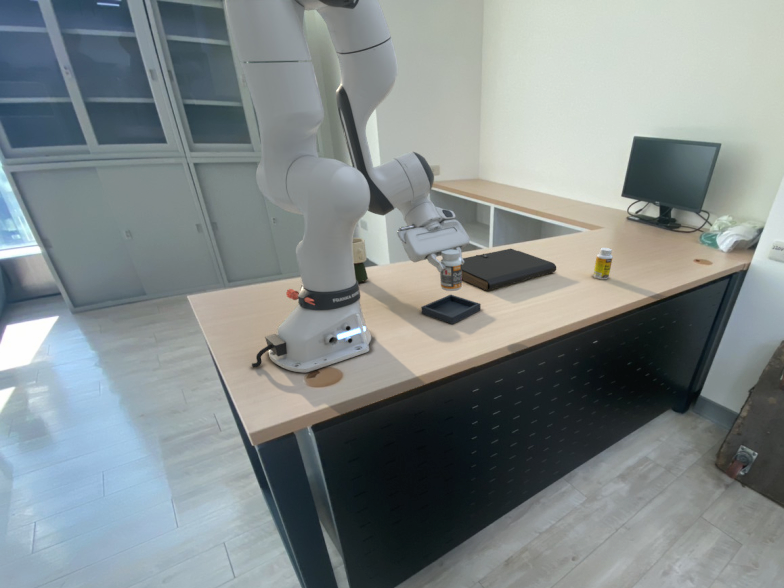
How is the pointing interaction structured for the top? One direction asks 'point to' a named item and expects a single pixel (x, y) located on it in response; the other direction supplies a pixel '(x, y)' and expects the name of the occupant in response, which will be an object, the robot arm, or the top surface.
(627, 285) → the top surface
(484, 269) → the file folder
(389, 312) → the top surface
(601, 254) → the supplement bottle
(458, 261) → the pill bottle
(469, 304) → the tray
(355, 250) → the character mug
